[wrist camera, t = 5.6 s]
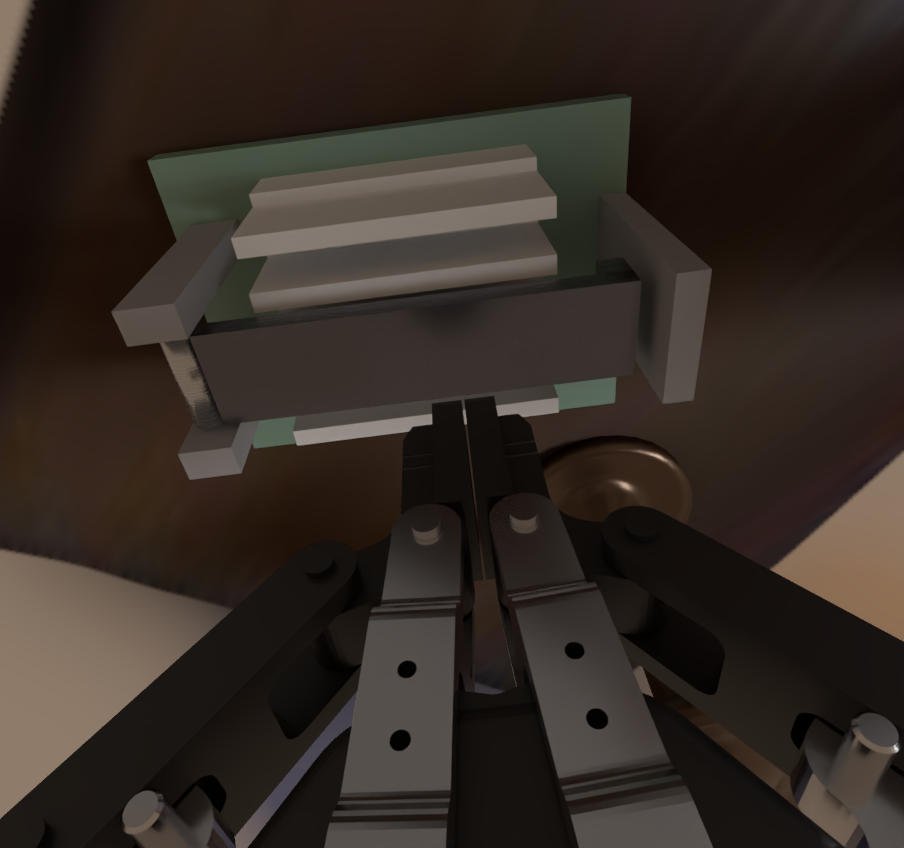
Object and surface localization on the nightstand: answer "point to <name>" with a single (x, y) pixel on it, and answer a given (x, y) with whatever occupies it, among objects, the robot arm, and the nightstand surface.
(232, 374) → the strap
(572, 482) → the candlestick
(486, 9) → the nightstand surface
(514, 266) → the heatsink board
